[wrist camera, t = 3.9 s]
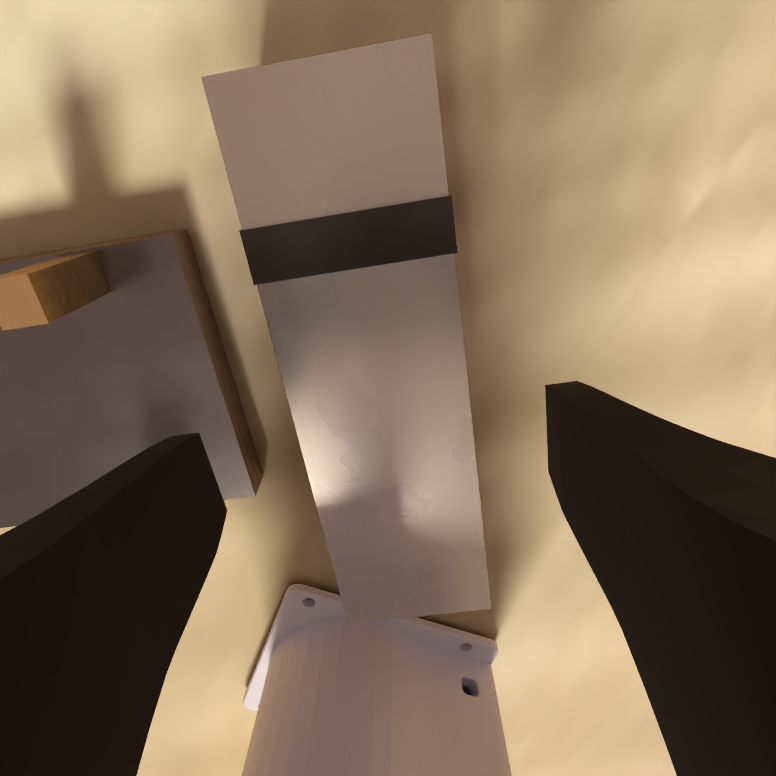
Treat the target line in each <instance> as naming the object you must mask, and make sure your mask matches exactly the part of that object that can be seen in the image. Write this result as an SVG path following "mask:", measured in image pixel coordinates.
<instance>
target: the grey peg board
mask: <svg viewBox="0 0 776 776" xmlns="http://www.w3.org/2000/svg"><path fill="white" fill-rule="evenodd" d="M192 433H200V436H201V439H202V442H203V445H204V447H205V450H206V453H207V456H208V459H209V461H210V464H211V467H212V470H213V472H214V475H215V478H216V481H217V484H218V486H219V489H220V492H221V495H222V498H223V500H226V499H234V498H242V497H250V496H255V495H256V493H257V490H258V488H259V485H260V483H261V480H262V478H263V474H262V471H261V467H260V464H259V461H258V458H257V455H256V451H255V448H254V445H253V442H252V438H251V435H250V432H249V429H248V425H247V422H246V419H245V416H244V413H243V409H242V406H241V403H240V400H239V396H238V393H237V390H236V387H235V383H234V380H233V377H232V374H231V371H230V367H229V364H228V361H227V358H226V354H225V351H224V348H223V345H222V341H221V338H220V335H219V332H218V328H217V325H216V322H215V319H214V316H213V312H212V309H211V306H210V303H209V299H208V296H207V293H206V290H205V286H204V283H203V280H202V277H201V274H200V270H199V267H198V264H197V261H196V257H195V254H194V251H193V248H192V244H191V241H190V238H189V235H188V232H187V229H182V230H176V231H170V232H164V233H158V234H152V235H146V236H140V237H134V238H128V239H122V240H116V241H110V242H105V243H99V244H93V245H87V246H81V247H75V248H69V249H63V250H57V251H51V252H45V253H39V254H33V255H27V256H21V257H16V258H10V259H4V260H0V528H4V527H11V526H19V525H20V524H22V523H24V522H26V521H28V520H30V519H31V518H33V517H35V516H37V515H38V514H40V513H42V512H43V511H45V510H47V509H48V508H50V507H52V506H54V505H55V504H57V503H59V502H60V501H62V500H64V499H65V498H67V497H69V496H70V495H72V494H74V493H76V492H77V491H79V490H81V489H82V488H84V487H86V486H87V485H89V484H90V483H92V482H94V481H95V480H97V479H98V478H100V477H102V476H103V475H105V474H106V473H108V472H110V471H111V470H113V469H114V468H116V467H118V466H119V465H121V464H122V463H124V462H126V461H127V460H129V459H130V458H132V457H134V456H135V455H137V454H139V453H140V452H142V451H144V450H145V449H147V448H149V447H151V446H153V445H154V444H156V443H158V442H160V441H162V440H164V439H167V438H169V437H171V436H177V435H185V434H192Z"/></svg>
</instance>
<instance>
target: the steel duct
mask: <svg viewBox="0 0 776 776" xmlns="http://www.w3.org/2000/svg"><path fill="white" fill-rule="evenodd" d="M201 78H202V81H203V85H204V89H205V93H206V96H207V100H208V104H209V108H210V111H211V115H212V119H213V122H214V126H215V130H216V134H217V137H218V141H219V145H220V149H221V152H222V156H223V160H224V164H225V167H226V171H227V175H228V178H229V182H230V186H231V190H232V193H233V197H234V201H235V205H236V208H237V212H238V216H239V220H240V223H241V227H242V230H240V235H241V238H242V242H243V246H244V249H245V253H246V257H247V260H248V264H249V268H250V272H251V275H252V279H253V283H254V285H257V287H258V290H259V294H260V298H261V302H262V305H263V309H264V313H265V317H266V320H267V324H268V328H269V332H270V335H271V339H272V343H273V346H274V350H275V354H276V358H277V361H278V365H279V369H280V373H281V376H282V380H283V384H284V388H285V391H286V395H287V399H288V402H289V406H290V410H291V414H292V417H293V421H294V425H295V429H296V432H297V436H298V440H299V444H300V447H301V451H302V455H303V458H304V462H305V466H306V470H307V473H308V477H309V481H310V485H311V488H312V492H313V496H314V500H315V503H316V507H317V511H318V514H319V518H320V522H321V526H322V529H323V533H324V537H325V541H326V544H327V548H328V552H329V556H330V559H331V563H332V567H333V570H334V574H335V578H336V582H337V585H338V589H339V593H340V597H341V600H342V604H343V608H344V612H345V615H346V619H347V623H348V624H353V623H363V622H372V621H382V620H391V619H401V618H410V617H420V616H429V615H439V614H448V613H458V612H467V611H477V610H486V609H492V608H491V599H490V589H489V579H488V570H487V560H486V550H485V541H484V531H483V521H482V512H481V502H480V492H479V483H478V473H477V463H476V454H475V444H474V434H473V425H472V415H471V405H470V396H469V386H468V377H467V367H466V357H465V348H464V338H463V328H462V319H461V309H460V299H459V290H458V280H457V270H456V261H455V253H457V246H456V236H455V226H454V216H453V207H452V197H451V195H450V194H449V193H448V183H447V174H446V164H445V154H444V145H443V135H442V125H441V116H440V106H439V97H438V87H437V77H436V68H435V58H434V48H433V39H432V33H429V34H424V35H419V36H414V37H409V38H403V39H398V40H393V41H388V42H382V43H377V44H372V45H367V46H362V47H356V48H351V49H346V50H341V51H335V52H330V53H325V54H320V55H315V56H309V57H304V58H299V59H294V60H288V61H283V62H278V63H273V64H268V65H262V66H257V67H252V68H247V69H241V70H236V71H231V72H226V73H221V74H215V75H210V76H205V77H201Z"/></svg>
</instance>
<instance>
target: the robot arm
mask: <svg viewBox="0 0 776 776" xmlns="http://www.w3.org/2000/svg"><path fill="white" fill-rule="evenodd" d="M545 387H546V416H547V444H548V471H549V474H550V477H551V480H552V483H553V486H554V489H555V492H556V495H557V498H558V500H559V503H560V506H561V509H562V511H563V513H564V515H565V517H566V520H567V522H568V523H569V525H570V527H571V529H572V531H573V533H574V535H575V537H576V539H577V541H578V543H579V545H580V547H581V549H582V551H583V553H584V555H585V557H586V559H587V560H588V562H589V564H590V566H591V568H592V570H593V572H594V574H595V576H596V578H597V580H598V582H599V584H600V586H601V587H602V589H603V591H604V593H605V595H606V597H607V599H608V601H609V603H610V605H611V607H612V609H613V611H614V613H615V616H616V618H617V620H618V622H619V624H620V626H621V628H622V631H623V633H624V636H625V638H626V641H627V644H628V646H629V649H630V651H631V654H632V656H633V659H634V661H635V664H636V666H637V669H638V672H639V674H640V677H641V679H642V682H643V684H644V687H645V690H646V692H647V695H648V698H649V700H650V703H651V706H652V708H653V711H654V714H655V717H656V719H657V722H658V725H659V727H660V730H661V733H662V735H663V738H664V741H665V743H666V746H667V749H668V752H669V755H670V757H671V760H672V763H673V766H674V769H675V772H676V774H677V776H776V458H774V457H770V456H767V455H764V454H760V453H757V452H754V451H750V450H747V449H744V448H741V447H737V446H734V445H731V444H727V443H725V442H722V441H719V440H716V439H713V438H710V437H707V436H705V435H702V434H699V433H697V432H694V431H692V430H689V429H686V428H684V427H681V426H679V425H676V424H674V423H671V422H669V421H666V420H664V419H662V418H659V417H657V416H655V415H652V414H650V413H648V412H646V411H643V410H641V409H639V408H637V407H635V406H632V405H630V404H628V403H626V402H624V401H622V400H619V399H617V398H615V397H613V396H611V395H609V394H607V393H605V392H602V391H600V390H598V389H596V388H594V387H591V386H589V385H586V384H584V383H581V382H578V381H573V382H566V383H559V384H551V385H545ZM226 513H227V509H226V506H225V503H224V500H223V498H222V495H221V492H220V489H219V486H218V484H217V481H216V478H215V475H214V472H213V470H212V467H211V464H210V461H209V459H208V456H207V453H206V450H205V447H204V445H203V442H202V439H201V436H200V433H192V434H185V435H177V436H171V437H169V438H167V439H164V440H162V441H160V442H158V443H156V444H154V445H153V446H151V447H149V448H147V449H145V450H144V451H142V452H140V453H139V454H137V455H135V456H134V457H132V458H130V459H129V460H127V461H126V462H124V463H122V464H121V465H119V466H118V467H116V468H114V469H113V470H111V471H110V472H108V473H106V474H105V475H103V476H102V477H100V478H98V479H97V480H95V481H94V482H92V483H90V484H89V485H87V486H86V487H84V488H82V489H81V490H79V491H77V492H76V493H74V494H72V495H70V496H69V497H67V498H65V499H64V500H62V501H60V502H59V503H57V504H55V505H54V506H52V507H50V508H48V509H47V510H45V511H43V512H42V513H40V514H38V515H37V516H35V517H33V518H31V519H30V520H28V521H26V522H24V523H22V524H20V525H19V526H17V527H15V528H13V529H11V530H9V531H7V532H5V533H4V534H2V535H0V776H136V775H137V771H138V768H139V764H140V761H141V757H142V753H143V750H144V746H145V743H146V739H147V735H148V732H149V728H150V725H151V722H152V718H153V715H154V712H155V709H156V705H157V702H158V699H159V696H160V693H161V689H162V686H163V683H164V680H165V676H166V673H167V671H168V668H169V666H170V663H171V660H172V658H173V655H174V652H175V650H176V647H177V645H178V643H179V640H180V638H181V636H182V633H183V631H184V629H185V626H186V624H187V622H188V619H189V617H190V615H191V612H192V610H193V608H194V605H195V603H196V601H197V598H198V596H199V594H200V591H201V589H202V587H203V584H204V582H205V580H206V577H207V575H208V572H209V570H210V567H211V565H212V563H213V560H214V558H215V555H216V553H217V549H218V545H219V542H220V538H221V535H222V531H223V526H224V522H225V518H226ZM306 598H311V599H313V600H308V599H306ZM463 643H466V644H463ZM497 655H498V648H497V643H496V642H495V641H494V640H492V639H489V638H486V637H483V636H479V635H476V634H472V633H469V632H465V631H462V630H458V629H455V628H451V627H448V626H445V625H441V624H438V623H434V622H431V621H427V620H424V619H420V618H417V617H410V618H401V619H391V620H382V621H372V622H363V623H353V624H348V623H347V619H346V615H345V612H344V608H343V604H342V600H341V597H340V595H337V594H334V593H330V592H327V591H324V590H320V589H317V588H313V587H310V586H306V585H303V584H293V585H291V586H289V587H288V589H287V591H286V593H285V596H284V598H283V601H282V603H281V605H280V608H279V610H278V613H277V615H276V618H275V620H274V623H273V625H272V628H271V630H270V633H269V635H268V638H267V640H266V643H265V645H264V647H263V650H262V652H261V655H260V657H259V660H258V662H257V665H256V667H255V670H254V672H253V675H252V677H251V680H250V682H249V685H248V687H247V689H246V692H245V695H244V698H243V704H244V706H245V707H246V708H247V709H250V710H253V711H257V715H256V720H255V724H254V728H253V732H252V736H251V740H250V744H249V748H248V752H247V756H246V760H245V764H244V769H243V773H242V776H512V775H511V770H510V764H509V759H508V753H507V748H506V743H505V737H504V732H503V727H502V721H501V716H500V710H499V705H498V700H497V694H496V689H495V684H494V678H493V673H492V668H491V664H492V662H493V661H494V659H495V658H496V657H497Z"/></svg>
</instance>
